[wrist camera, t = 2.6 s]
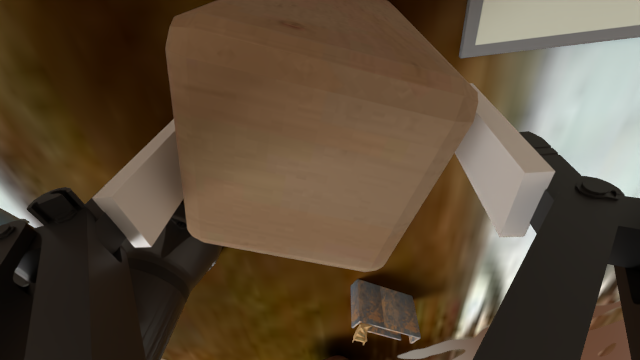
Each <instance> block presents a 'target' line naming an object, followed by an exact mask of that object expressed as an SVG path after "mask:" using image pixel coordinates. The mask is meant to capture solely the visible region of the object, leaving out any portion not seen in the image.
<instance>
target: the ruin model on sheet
mask: <svg viewBox="0 0 640 360" xmlns="http://www.w3.org/2000/svg"><path fill="white" fill-rule="evenodd" d="M351 318H352V328H354V327H355V326H356V325H358V324H359V323H360V322H361V323H363V324H360V325H359V327H358V328H357V330H356V332H355V334H354V336H353V340H352V343H353V341H354V340H356V341H360V342H364V343H363V345H364V344H365V342H367V332H371V333H375V334H378V335H382V336H386V337H389V338H393V339H397V340H401V334H405V335H408V336H409V340H410V343H411V344H412V343H413V342H415V341H417V340H418V339H420V338H421V336H420V331H419V326H418V321H417V316H416V312H415V307H414V302H413V297H412V296H410V295H407V294H404V293H401V292H398V291H394V290H391V289H388V288H385V287H382V286H378V285H375V284H372V283H369V282H366V281H362V280H359V279H357V280H356V281H355V282H354V283H353V284H352V285H351ZM400 333H401V334H400Z"/></svg>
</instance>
